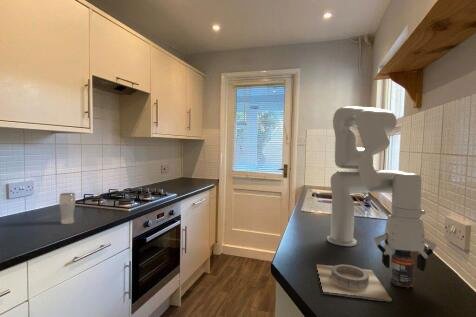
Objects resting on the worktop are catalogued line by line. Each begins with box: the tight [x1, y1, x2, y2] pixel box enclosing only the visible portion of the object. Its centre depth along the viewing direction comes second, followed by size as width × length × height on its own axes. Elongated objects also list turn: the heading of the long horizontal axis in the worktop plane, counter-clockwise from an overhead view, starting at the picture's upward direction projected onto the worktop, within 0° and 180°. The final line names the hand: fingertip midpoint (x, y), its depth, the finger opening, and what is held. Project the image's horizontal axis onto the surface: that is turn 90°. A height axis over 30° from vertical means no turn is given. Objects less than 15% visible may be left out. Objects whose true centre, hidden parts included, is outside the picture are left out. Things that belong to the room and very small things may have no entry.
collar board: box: [316, 263, 393, 302], centre depth 84 cm, size 18×18×4 cm
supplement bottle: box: [390, 250, 415, 289], centre depth 83 cm, size 6×6×11 cm
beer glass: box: [58, 192, 76, 225], centre depth 138 cm, size 7×7×15 cm
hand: (403, 267), depth 83 cm, fingers open, 9 cm apart
